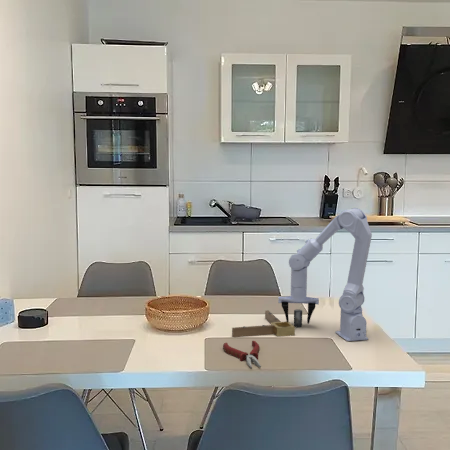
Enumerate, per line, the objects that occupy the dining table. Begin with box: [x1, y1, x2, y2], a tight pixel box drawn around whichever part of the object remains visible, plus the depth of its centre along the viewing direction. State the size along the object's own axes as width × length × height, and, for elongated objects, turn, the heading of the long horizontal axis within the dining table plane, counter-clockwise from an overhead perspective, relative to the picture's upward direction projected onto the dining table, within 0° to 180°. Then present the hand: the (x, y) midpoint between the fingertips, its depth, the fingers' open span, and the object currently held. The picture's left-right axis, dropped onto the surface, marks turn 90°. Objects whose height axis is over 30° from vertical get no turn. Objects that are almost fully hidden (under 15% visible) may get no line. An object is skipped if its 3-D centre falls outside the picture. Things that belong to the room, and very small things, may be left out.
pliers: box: [222, 340, 262, 369], centre depth 166 cm, size 12×20×3 cm, turn 13°
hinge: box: [231, 310, 296, 338], centre depth 195 cm, size 22×22×3 cm
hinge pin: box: [293, 308, 303, 329], centre depth 197 cm, size 3×3×6 cm
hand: (297, 322), depth 197 cm, fingers open, 7 cm apart
